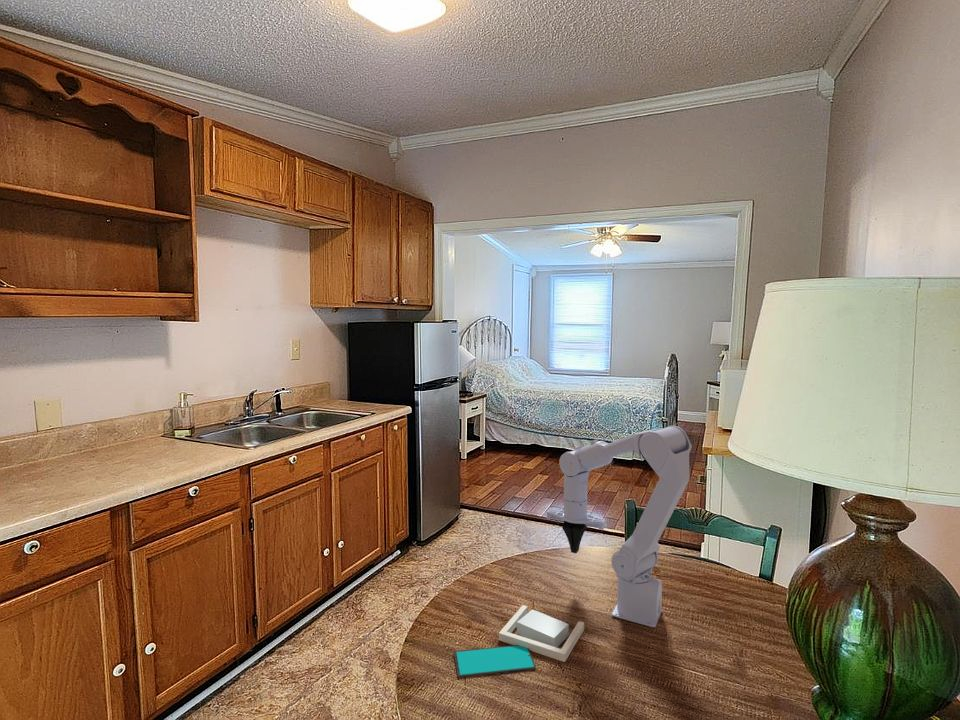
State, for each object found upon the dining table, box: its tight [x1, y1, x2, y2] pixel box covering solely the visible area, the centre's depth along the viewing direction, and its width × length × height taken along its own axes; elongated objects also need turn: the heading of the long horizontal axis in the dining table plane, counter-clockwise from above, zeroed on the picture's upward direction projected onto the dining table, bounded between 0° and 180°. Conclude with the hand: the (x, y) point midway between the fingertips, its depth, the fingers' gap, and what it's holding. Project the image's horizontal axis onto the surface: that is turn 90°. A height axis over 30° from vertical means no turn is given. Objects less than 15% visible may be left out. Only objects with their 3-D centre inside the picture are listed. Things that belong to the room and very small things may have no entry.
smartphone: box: [453, 645, 536, 679], centre depth 103 cm, size 7×1×15 cm
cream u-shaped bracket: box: [498, 604, 585, 663], centre depth 112 cm, size 14×12×2 cm
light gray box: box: [516, 609, 570, 648], centre depth 112 cm, size 9×6×3 cm, turn 51°
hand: (574, 551), depth 132 cm, fingers closed
